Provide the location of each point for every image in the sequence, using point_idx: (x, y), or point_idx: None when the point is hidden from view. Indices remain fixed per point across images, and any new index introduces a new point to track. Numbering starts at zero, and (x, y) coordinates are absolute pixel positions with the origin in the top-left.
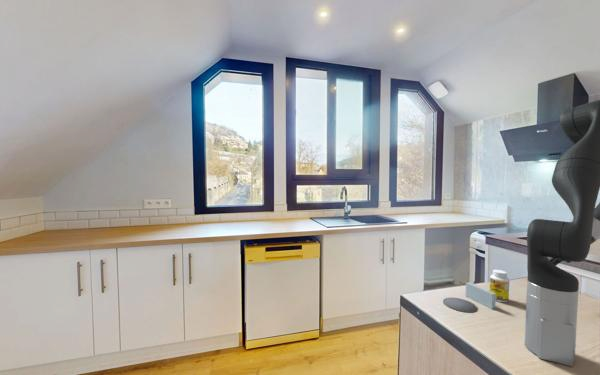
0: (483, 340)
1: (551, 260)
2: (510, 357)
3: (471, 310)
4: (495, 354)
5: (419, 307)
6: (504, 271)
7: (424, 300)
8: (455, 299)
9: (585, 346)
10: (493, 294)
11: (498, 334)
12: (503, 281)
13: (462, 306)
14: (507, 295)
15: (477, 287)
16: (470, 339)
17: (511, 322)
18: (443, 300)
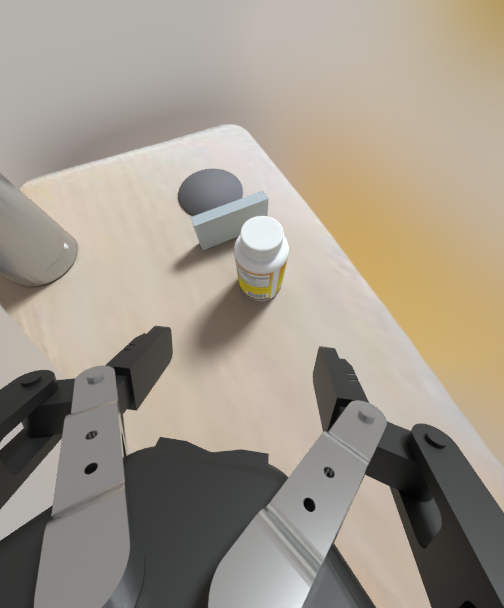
0: (86, 184)
1: (136, 348)
2: (41, 199)
3: (183, 201)
4: (51, 185)
5: (191, 134)
6: (266, 247)
7: (222, 146)
8: (232, 191)
9: (49, 336)
10: (192, 221)
11: (101, 211)
12: (234, 247)
13: (200, 192)
14: (240, 284)
15: (232, 203)
16: (90, 170)
17: (142, 252)
18: (223, 170)
